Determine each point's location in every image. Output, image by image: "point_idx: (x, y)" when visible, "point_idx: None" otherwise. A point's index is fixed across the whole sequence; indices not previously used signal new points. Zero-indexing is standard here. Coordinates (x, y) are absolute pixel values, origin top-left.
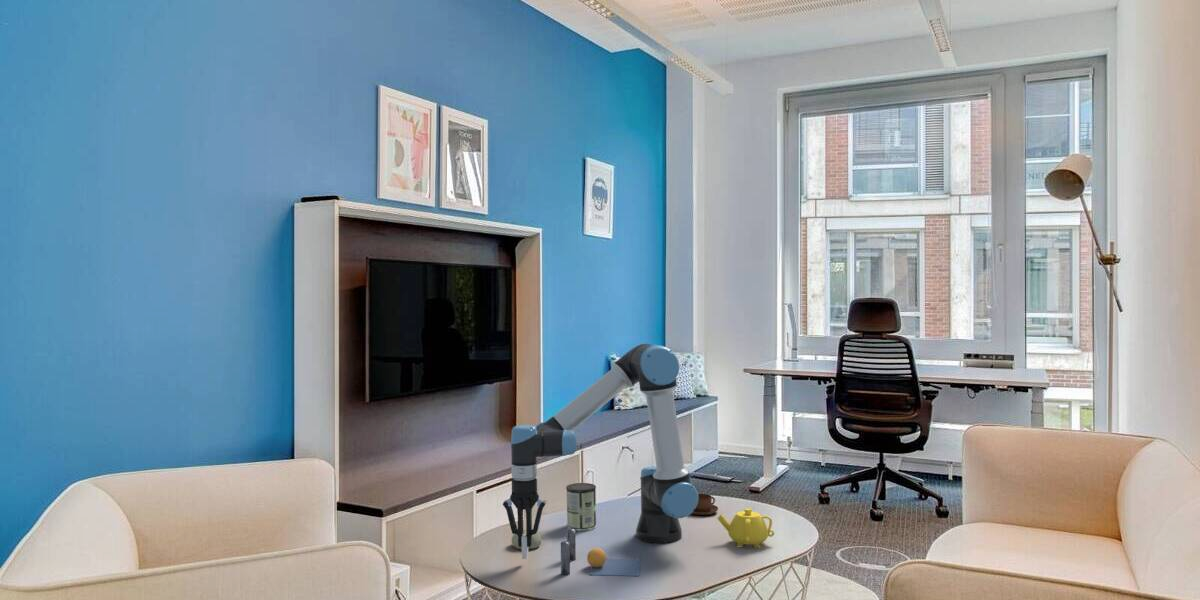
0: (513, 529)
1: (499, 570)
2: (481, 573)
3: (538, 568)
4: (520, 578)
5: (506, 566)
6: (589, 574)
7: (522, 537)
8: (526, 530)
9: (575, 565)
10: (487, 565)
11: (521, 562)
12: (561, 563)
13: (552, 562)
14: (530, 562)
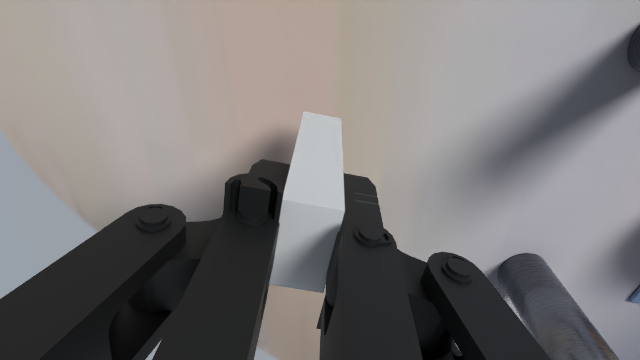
0: (138, 330)
1: (176, 188)
2: (92, 216)
3: (395, 186)
4: (298, 292)
5: (203, 131)
6: (631, 301)
7: (279, 278)
8: (321, 349)
9: (628, 166)
10: (76, 97)
11: (292, 66)
12: (524, 323)
13: (503, 93)
14: (354, 74)
